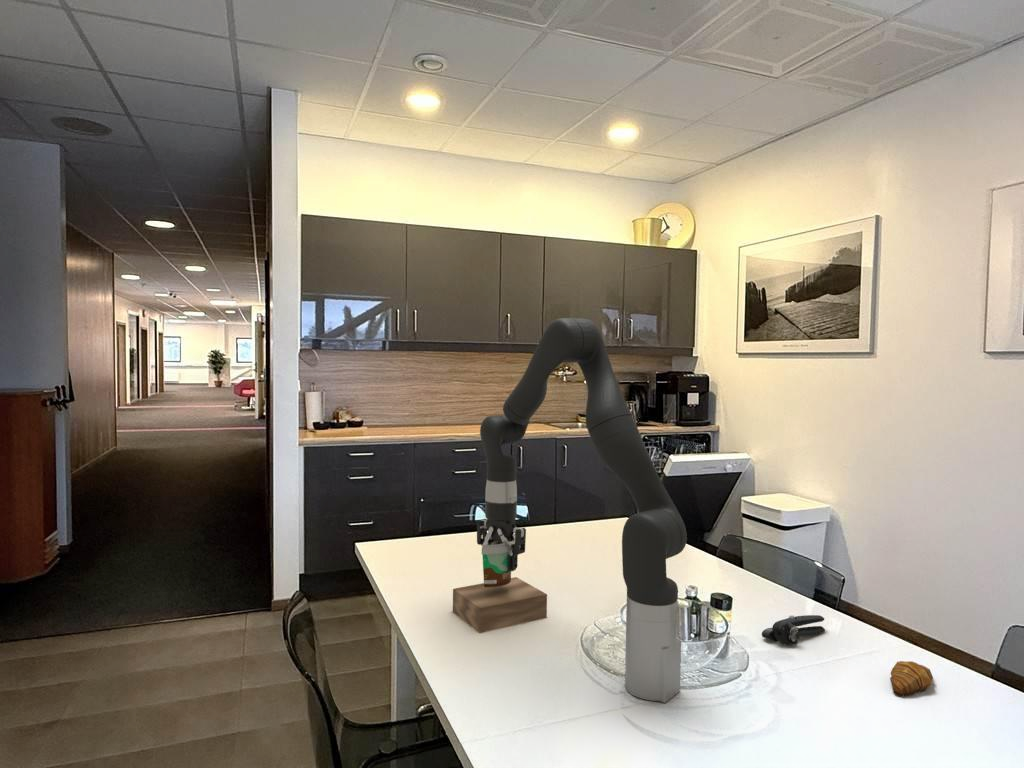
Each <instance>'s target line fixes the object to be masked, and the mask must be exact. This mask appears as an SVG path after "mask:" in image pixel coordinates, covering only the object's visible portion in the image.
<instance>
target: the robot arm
mask: <svg viewBox="0 0 1024 768" xmlns="http://www.w3.org/2000/svg"><path fill="white" fill-rule="evenodd" d="M563 363H564V364H565V363H568V364H569V363H570V364H571V363H576V364H577V365H578V366H579V368H580V370H581V372H582V375H583V378H584V380H585V383H586V386H587V400H586V406H585V407H586V408H585V424H586V425H585V426H586V429H587V432H588V435H589V437H590V440H591V442H592V444H593V446H594V449H595V452H596V454H597V455H598V457H599V459H600V460H601V461H602V462H603V464H604V465H605V466H606V467H607V468H608V469H609V470H610V471H611V472H612V473H613V474H614V475H615V477H616V478H617V479H618V480H620V482H621V483H622V484H623V485H624V487H625V488H626V489H627V491H628V492H629V494H630V495H631V497H632V499H633V501H634V503H635V506H636V509H637V511H638V512H637V513H635V514H632V515H631V516H629V517H628V518H627V519H626V521H625V523H624V525H623V528H622V529H623V530H622V535H621V557H622V559H621V560H622V561H621V562H622V577H623V581H624V584H625V587H626V612H625V613H626V614H625V616H626V617H625V618H626V620H625V621H626V622H625V661H624V662H625V664H624V666H625V667H624V668H625V671H624V687H625V689H626V691H627V692H629V694H630V695H633V696H634V697H636V698H639V699H642V700H646V701H650V702H651V701H652V702H653V701H655V702H660V703H667V702H669V701H670V700H671V699H672V698H673V697H674V696H675V695H677V693H680V691H681V668H682V665H681V663H682V662H681V661H682V640H681V639H680V638H678V599H679V587H678V584H677V583H676V581H674V580H673V579H672V578H669V577H668V576H667V559H670V558H673V557H675V556H677V555H679V554H680V553H682V551H683V550H684V549H685V547H686V545H687V540H688V533H687V530H686V525H685V523H684V520H683V517H682V516H681V514H680V512H679V511H678V508H677V506H676V505H675V504H674V502H673V500H672V498H671V496H670V495H669V492H668V491H667V490H666V489H667V488H666V487H665V486H664V484H663V482H662V480H661V477H660V475H659V474H658V472H657V468H656V467H655V465H654V463H653V460H652V458H651V456H650V454H649V452H648V449H647V447H646V445H645V443H644V440H643V438H642V436H641V433H640V430H639V429H638V426H637V424H636V421H635V419H634V417H633V414H632V412H631V410H630V408H629V406H628V404H627V402H626V400H625V396H624V394H623V393H622V390H621V387H620V384H619V383H618V379H617V378H616V377H617V376H616V375H615V373H614V370H613V366H612V363H611V360H610V356H609V354H608V351H607V348H606V344H605V341H604V338H603V336H602V333H601V331H600V330H599V327H598V326H597V325H596V323H595V322H593V321H592V320H590V319H589V318H583V317H581V318H575V317H561V318H557V319H554V320H553V321H551V322H550V323H549V325H548V326H547V327H546V329H545V331H544V332H543V334H542V335H541V338H540V339H539V342H538V344H537V347H536V349H534V353H533V354H532V357H531V358H530V361H529V364H528V365H527V367H526V370H525V372H524V373H523V375H522V377H521V379H520V380H519V382H518V383H517V384H516V386H515V387H514V388H513V390H512V391H511V393H510V394H509V395H508V396H507V398H506V400H505V401H504V403H503V405H502V411H503V414H502V415H501V414H500V415H488V416H486V417H485V418H484V419H483V420H482V422H481V424H480V427H479V428H480V429H479V430H480V431H479V435H480V439H481V443H482V446H483V451H484V457H485V461H486V485H485V498H484V499H485V502H484V503H485V507H484V508H485V509H484V511H485V512H484V514H485V515H484V516H485V517H484V518H482V519H478V520H477V521H476V543H477V545H478V546H479V545H480V546H481V547H482V545H488V544H489V542H490V541H497V540H498V541H500V542H502V543H505V546H507V547H508V553H509V556H508V571H511V573H513V572H515V571H516V569H517V568H518V559H519V558H518V555H521V554H524V553H525V552H526V541H527V540H526V539H527V529H526V527H521V528H520V527H517V525H516V519H517V515H518V514H517V512H518V511H517V510H518V509H517V507H518V504H517V503H518V492H517V491H518V487H517V459H516V457H515V456H514V455H512V454H507V453H504V452H503V449H502V446H504V445H513V444H516V443H518V442H520V441H521V440H522V439H523V438H524V436H525V435H526V431H527V428H528V426H529V424H530V421H531V418H532V417H533V416H534V414H535V413H536V412H537V411H538V410H539V408H540V406H541V405H542V404H543V402H544V400H545V398H546V395H547V391H548V381H549V377H550V376H551V374H552V373H553V372H554V371H555V370H556V369H557V368H558V367H559V366H561V364H563ZM509 540H511V542H508V541H509ZM511 545H512V547H511ZM512 548H513V550H512Z"/></svg>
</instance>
